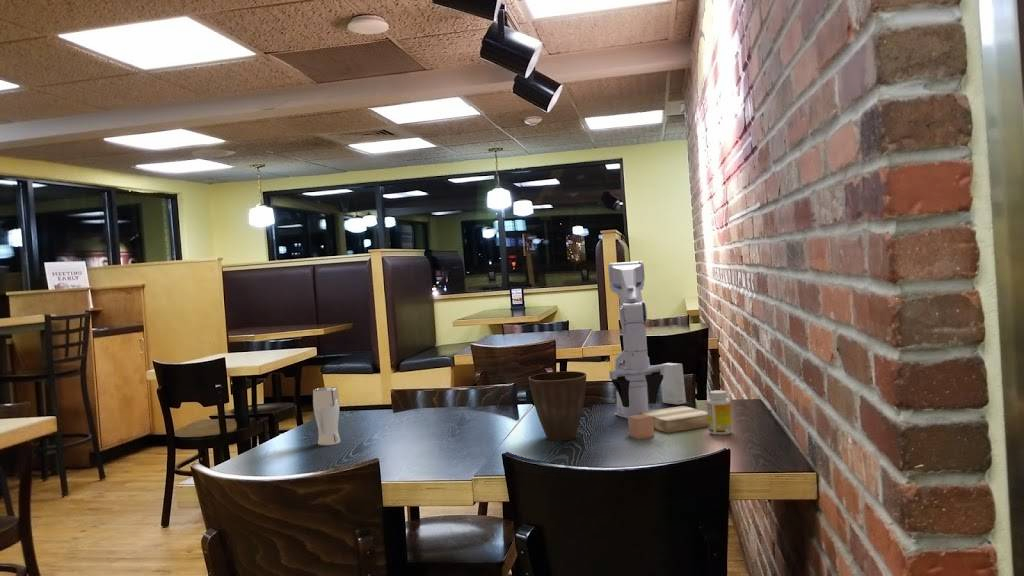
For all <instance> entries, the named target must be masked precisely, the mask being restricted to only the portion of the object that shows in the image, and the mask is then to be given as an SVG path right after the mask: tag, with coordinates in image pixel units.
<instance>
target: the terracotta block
mask: <svg viewBox="0 0 1024 576" xmlns="http://www.w3.org/2000/svg"><path fill="white" fill-rule="evenodd" d="M627 423H628V425H627V426H628V436H629V437H631V438H634V439H637V440H641V439H646V438H654V437H655V433H654V432H655V431H654V430H655V428H654V427H653V417H652V416H649V415H645V414H640V415H633V416H628V419H627Z"/></svg>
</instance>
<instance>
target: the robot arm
mask: <svg viewBox="0 0 1024 576" xmlns="http://www.w3.org/2000/svg"><path fill="white" fill-rule="evenodd" d="M607 269H608V281H609V288H610V290H611V292H612V293H615V294H617V296H618V299H619V304H620V305H619V308H618V309H619V320H620V326H621V331H622V332H621V333H622V343H623V350H622V351H621V352H620V353H619V354H618V355H617V356H616V357H615V359H614V361H615V362H614V363H615V364H614V369H613V370H609V371H608V372H609V373H608V374H609V379H610V380H611V382H612V384H613V386H614V387H615V388H616V392H615V393H616V394H615V395H616V409H617V410H616V411H617V412H614V415H616V416H619V417H621V418H624V419H627V420H628V416H633V415H639V412H645V411H649V403H650V404H656V403H657V398H658V393H659V390H660V387H661V385H662V384H661V382H662V380H663V374H661V373H664V365H660V364H655V365H651V363H650V357H649V356H648V344H647V343H648V342H647V330H646V325H647V323H648V313H647V312H648V311H647V310H648V309H647V305H646V302H645V300H643V295H642V290H644V286H645V275H646V274H645V266H644V261H642V260H639V261H637V260H636V261H624V262H609V264H608V267H607Z"/></svg>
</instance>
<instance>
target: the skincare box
mask: <svg viewBox="0 0 1024 576" xmlns="http://www.w3.org/2000/svg"><path fill="white" fill-rule="evenodd" d="M659 365H664V373H661V374H663V380H662V382H661V384H660V385H661V393H662V400H663V403H664V404H671V405H678V406H679V405H683V404H686V403H687V398H686V390H685V389H686V387H685V377H684V367H683V363H677V362H675V363H673V362H666V363H661V364H659Z"/></svg>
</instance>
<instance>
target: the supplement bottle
mask: <svg viewBox="0 0 1024 576" xmlns="http://www.w3.org/2000/svg"><path fill="white" fill-rule="evenodd" d="M706 409H707V411H706V412H708V425H709V426H708V432H709V433H710V434H712V435H716V436H717V435H718V436H723V435H724V436H725V435H726V436H727V435H729V434H731V433H732V432H733V419H732V409H731V400H730V399H729V398H727V391H726V390H716V389H715V390H711V391H709V399H708V400H706Z"/></svg>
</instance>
